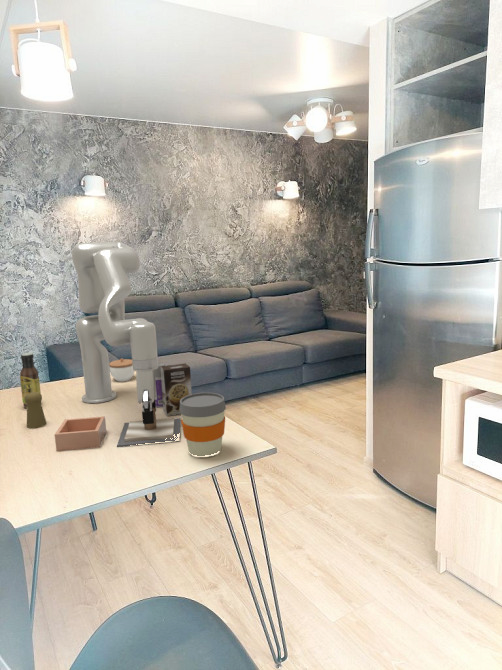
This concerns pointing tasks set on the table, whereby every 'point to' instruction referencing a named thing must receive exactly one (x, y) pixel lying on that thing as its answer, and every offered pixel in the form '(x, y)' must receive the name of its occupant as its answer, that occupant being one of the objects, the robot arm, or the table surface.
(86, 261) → the robot arm
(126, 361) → the lidded jar
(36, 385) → the sauce bottle
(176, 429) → the mat
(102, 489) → the table surface
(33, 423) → the cork
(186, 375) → the coffee box
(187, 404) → the reusable coffee cup
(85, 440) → the dish
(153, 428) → the lid
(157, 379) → the container
